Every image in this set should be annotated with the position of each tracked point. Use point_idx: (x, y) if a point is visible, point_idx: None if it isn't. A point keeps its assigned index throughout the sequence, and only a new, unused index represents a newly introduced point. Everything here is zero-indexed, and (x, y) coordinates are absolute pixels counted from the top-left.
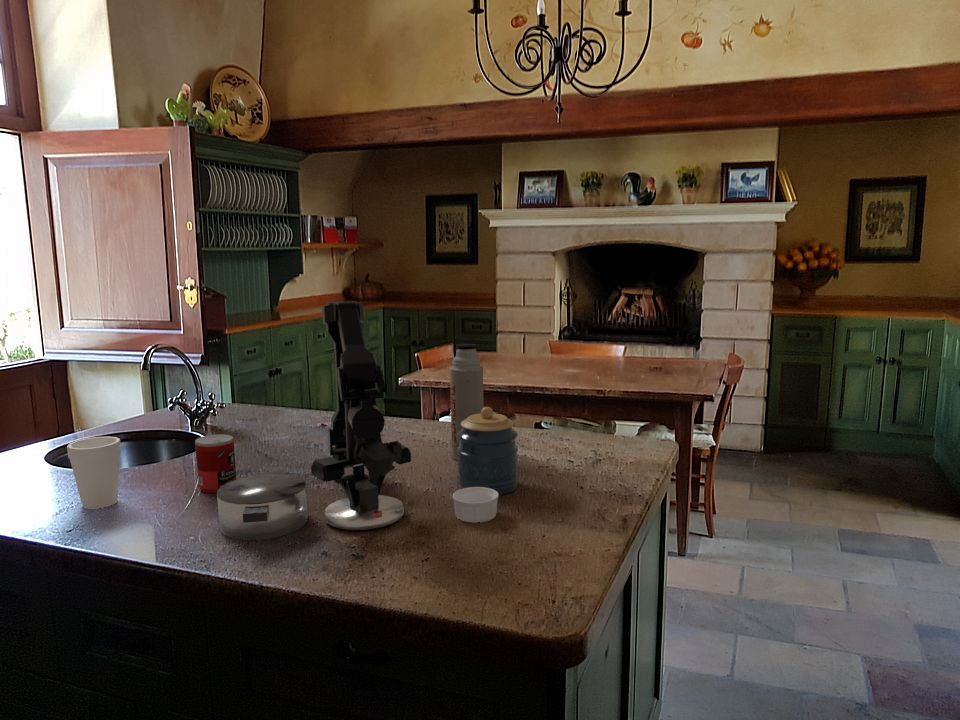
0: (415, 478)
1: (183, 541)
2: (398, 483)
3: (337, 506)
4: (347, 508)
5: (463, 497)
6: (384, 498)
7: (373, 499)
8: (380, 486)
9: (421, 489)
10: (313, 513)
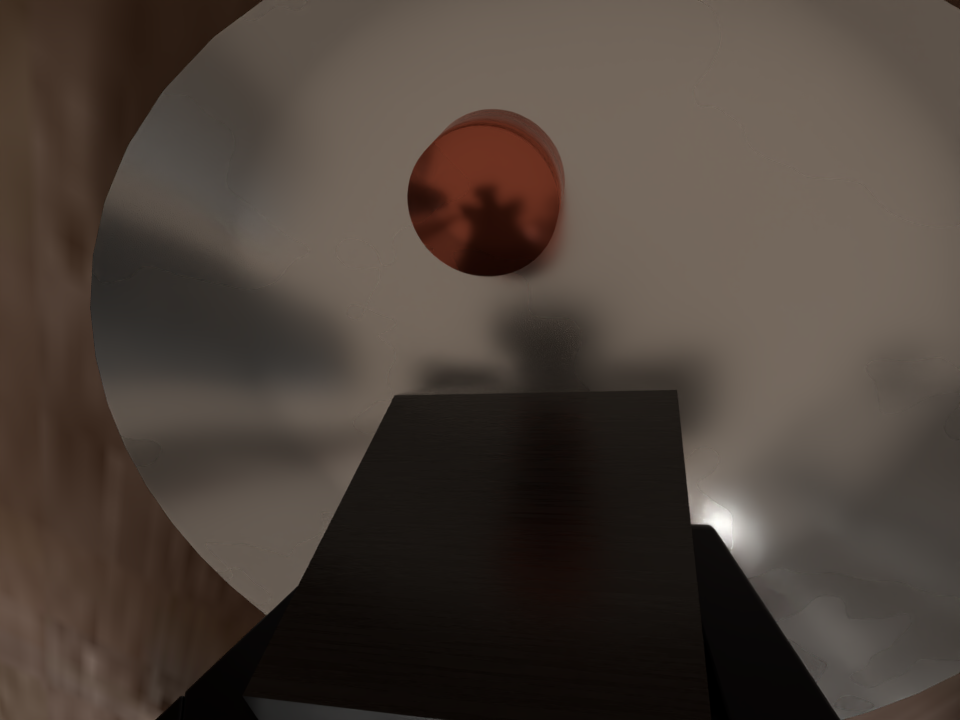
0: (50, 694)
1: None
2: (151, 703)
3: None
4: None
5: None
6: (268, 566)
7: (425, 504)
8: (209, 685)
9: (7, 580)
10: (890, 710)
